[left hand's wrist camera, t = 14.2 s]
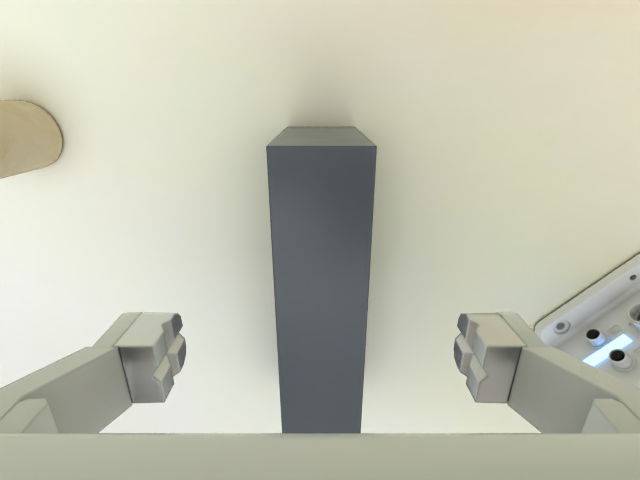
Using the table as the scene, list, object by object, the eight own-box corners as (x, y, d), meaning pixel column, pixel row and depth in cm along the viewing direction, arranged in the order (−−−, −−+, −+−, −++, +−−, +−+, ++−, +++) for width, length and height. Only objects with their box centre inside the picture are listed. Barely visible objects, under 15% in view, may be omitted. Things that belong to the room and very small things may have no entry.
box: (286, 126, 30) (266, 145, 19) (355, 126, 30) (377, 145, 19) (295, 384, 41) (285, 499, 29) (346, 384, 41) (356, 499, 29)
